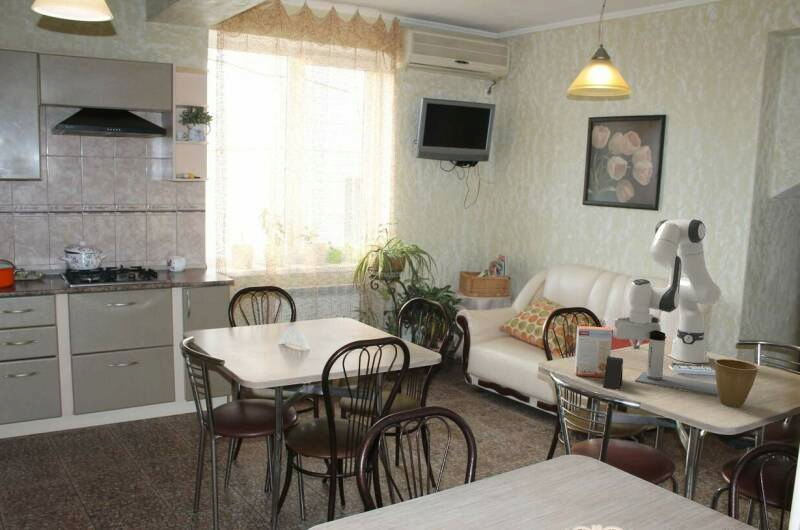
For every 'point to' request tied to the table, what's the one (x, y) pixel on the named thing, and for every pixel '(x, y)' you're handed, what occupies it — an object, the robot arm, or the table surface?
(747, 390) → the plant pot
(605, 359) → the cracker box
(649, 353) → the travel mug
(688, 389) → the rubber mat
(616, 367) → the door stopper
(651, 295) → the robot arm
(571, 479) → the table surface
